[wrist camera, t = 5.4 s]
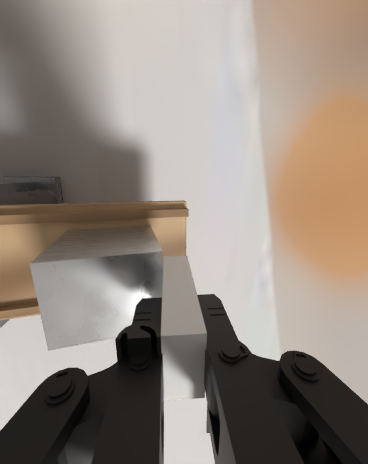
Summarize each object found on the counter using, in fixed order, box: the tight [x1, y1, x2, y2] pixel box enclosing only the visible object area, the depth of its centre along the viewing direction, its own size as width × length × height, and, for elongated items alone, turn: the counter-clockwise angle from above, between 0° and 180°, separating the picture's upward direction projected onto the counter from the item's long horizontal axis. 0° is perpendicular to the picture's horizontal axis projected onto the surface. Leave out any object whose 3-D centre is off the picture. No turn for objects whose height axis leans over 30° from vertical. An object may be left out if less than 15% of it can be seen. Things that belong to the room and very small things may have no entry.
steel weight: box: [29, 225, 163, 351], centre depth 13 cm, size 5×6×6 cm
